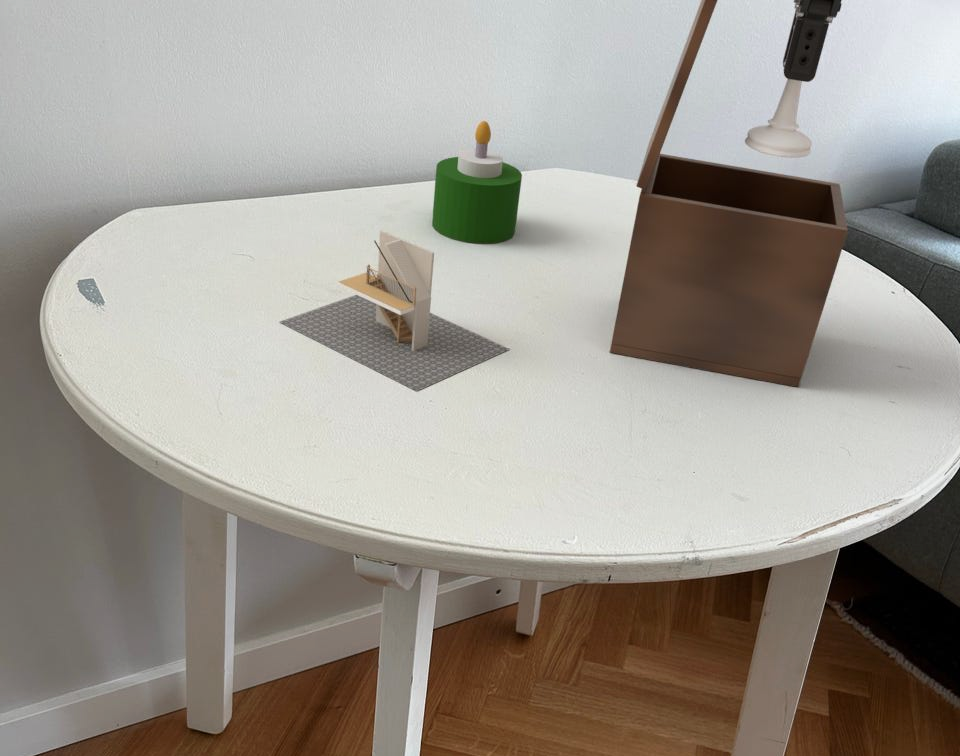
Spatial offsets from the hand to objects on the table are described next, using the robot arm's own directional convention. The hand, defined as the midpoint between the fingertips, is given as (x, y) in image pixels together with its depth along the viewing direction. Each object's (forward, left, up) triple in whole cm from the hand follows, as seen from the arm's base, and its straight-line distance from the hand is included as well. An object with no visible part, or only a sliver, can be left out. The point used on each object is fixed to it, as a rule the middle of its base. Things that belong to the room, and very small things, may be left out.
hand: (797, 73), depth 80 cm
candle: (+26, -19, -22) cm, 39 cm away
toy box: (+2, -2, -22) cm, 22 cm away
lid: (+7, -2, -1) cm, 8 cm away
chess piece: (0, 0, -5) cm, 5 cm away
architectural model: (+27, +8, -22) cm, 35 cm away
